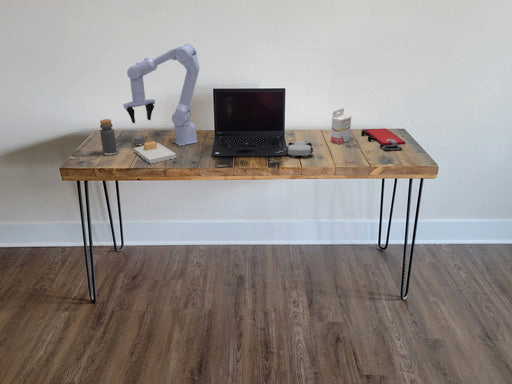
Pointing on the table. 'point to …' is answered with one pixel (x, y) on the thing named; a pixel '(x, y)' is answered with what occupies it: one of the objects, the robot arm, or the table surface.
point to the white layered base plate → (155, 153)
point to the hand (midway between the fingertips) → (141, 121)
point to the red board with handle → (383, 138)
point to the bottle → (107, 137)
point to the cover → (138, 140)
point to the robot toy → (299, 148)
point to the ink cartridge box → (340, 127)
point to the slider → (150, 145)
